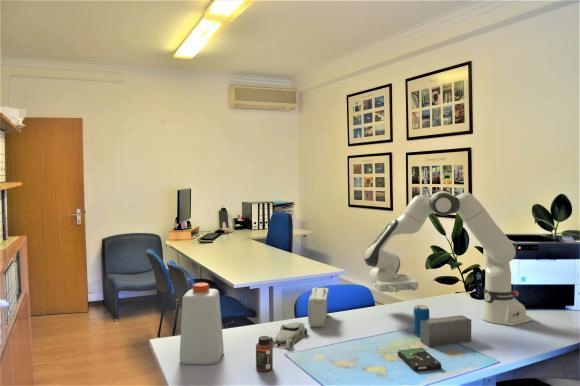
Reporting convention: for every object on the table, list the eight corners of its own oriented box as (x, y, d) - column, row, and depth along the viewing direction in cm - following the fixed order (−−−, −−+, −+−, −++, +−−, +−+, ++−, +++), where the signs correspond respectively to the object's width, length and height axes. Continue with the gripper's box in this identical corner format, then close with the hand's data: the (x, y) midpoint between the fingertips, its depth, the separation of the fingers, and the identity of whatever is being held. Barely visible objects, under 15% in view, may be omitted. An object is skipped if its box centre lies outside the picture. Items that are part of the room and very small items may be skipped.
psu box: (461, 336, 194) (461, 314, 194) (471, 341, 188) (471, 319, 188) (419, 341, 188) (420, 319, 188) (428, 347, 182) (429, 324, 182)
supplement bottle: (273, 372, 161) (272, 340, 160) (256, 372, 160) (255, 341, 160) (272, 364, 167) (272, 334, 166) (256, 365, 166) (255, 334, 165)
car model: (264, 347, 184) (264, 335, 184) (288, 328, 207) (288, 317, 206) (289, 351, 180) (289, 338, 180) (311, 331, 202) (311, 320, 202)
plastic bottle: (187, 349, 181) (186, 279, 180) (225, 349, 181) (224, 279, 180) (176, 365, 166) (175, 289, 165) (218, 366, 166) (217, 289, 164)
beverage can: (411, 332, 199) (411, 304, 198) (425, 331, 200) (425, 304, 199) (416, 337, 193) (416, 309, 192) (431, 337, 193) (431, 309, 192)
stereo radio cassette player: (312, 313, 226) (311, 273, 225) (328, 314, 225) (328, 273, 224) (307, 327, 206) (307, 283, 204) (326, 328, 204) (326, 284, 203)
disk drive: (442, 371, 162) (422, 354, 176) (442, 363, 162) (422, 347, 176) (414, 374, 160) (396, 356, 174) (414, 366, 160) (396, 349, 174)
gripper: (370, 277, 217) (385, 284, 204) (408, 274, 223) (425, 281, 210) (370, 290, 217) (384, 298, 204) (408, 287, 223) (424, 294, 210)
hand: (405, 289), depth 207 cm, fingers open, 8 cm apart
